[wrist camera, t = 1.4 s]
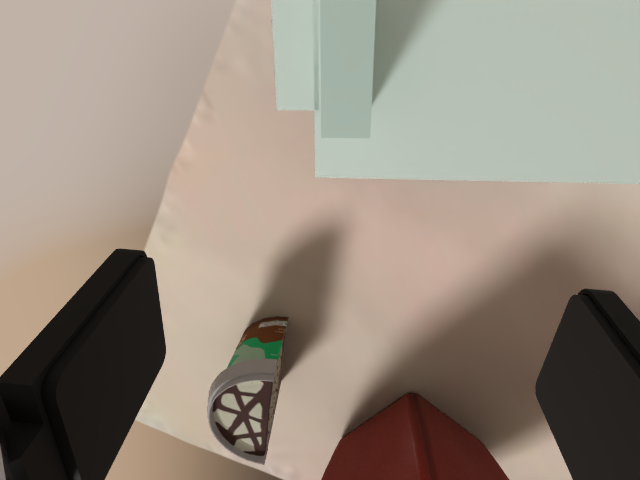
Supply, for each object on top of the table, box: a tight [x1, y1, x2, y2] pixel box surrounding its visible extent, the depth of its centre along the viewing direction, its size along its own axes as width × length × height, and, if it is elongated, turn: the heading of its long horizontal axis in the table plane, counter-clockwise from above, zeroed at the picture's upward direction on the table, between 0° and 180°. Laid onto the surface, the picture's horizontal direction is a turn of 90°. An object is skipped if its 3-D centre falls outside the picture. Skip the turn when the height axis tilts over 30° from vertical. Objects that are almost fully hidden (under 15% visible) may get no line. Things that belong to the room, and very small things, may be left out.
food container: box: [207, 317, 289, 465], centre depth 46 cm, size 12×6×10 cm, turn 173°
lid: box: [271, 0, 640, 184], centre depth 24 cm, size 23×15×8 cm, turn 91°
